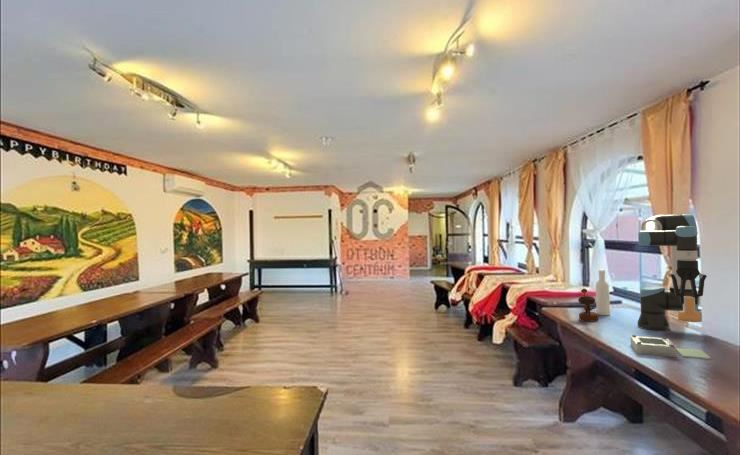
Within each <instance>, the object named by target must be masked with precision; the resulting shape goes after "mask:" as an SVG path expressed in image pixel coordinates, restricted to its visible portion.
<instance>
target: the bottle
mask: <svg viewBox="0 0 740 455" xmlns="http://www.w3.org/2000/svg"><path fill="white" fill-rule="evenodd" d="M595 303H596V308H595V311H596V312H595V313H597V314H599V315H598V316H603V315H608V316H610V315H611V310H610V309H611V307H610V306H611V303H610V284H609V282H608V281H607V280H606V269H600V268H599V269H598V280H597V281H596V283H595Z"/></svg>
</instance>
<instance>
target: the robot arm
mask: <svg viewBox="0 0 740 455" xmlns="http://www.w3.org/2000/svg"><path fill="white" fill-rule="evenodd" d="M698 233H699V232H698V227H697V222H696V218H695V216H694V215H693V214H691V213H690V214H689V213H688V214H687V213H681V214H678V213H677V214H657V215H654V216H650V217H649V218H647V219H645V220H643V222H642V223H641V226H640V231H638V232H637V234H638V236H637V237H638V245H639V246H641V247H644V246H645V247H662V246H663V247H665V246H666V247H670V246H671V272H672V273H670V274H669V276H670V278H671V281H672V284H671V285H669V289H666V287H664V286H647V287H642V288H641V289H640V290H639V291H640V292H639V297H640V300H639V301H640V314H639V317H638V320H637V327H638V328H640V329H646V330H648V331H649V330H650V331H670V329H671V325H670V322H669V321H668V317H667V312H666V311H671V312H672V311H673V312H674V311H675V312H678V311H685V312H687V308H686V297H685V296H690V297H692V298H694V312H698V310H699V306H700V298H701V297H703V296H704V288H705V280H706V278H707V277H708V276H707V274H703V273H701V272H700V270H699V261H698V259H699V255H698ZM697 278H699V279H698V280H699V281H698V290H697V286H696V285H697V284H696V279H697Z"/></svg>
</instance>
